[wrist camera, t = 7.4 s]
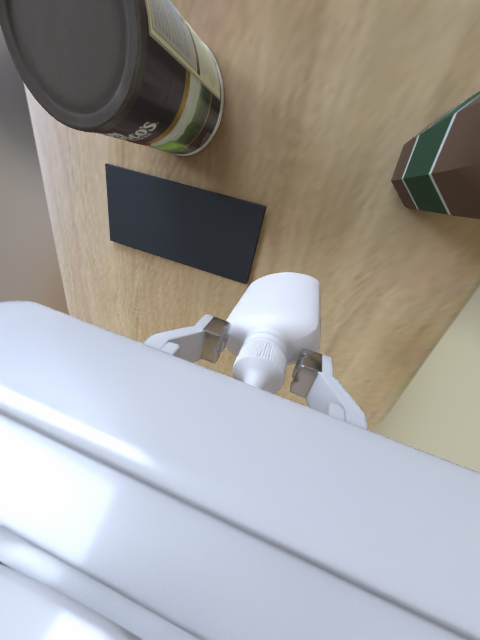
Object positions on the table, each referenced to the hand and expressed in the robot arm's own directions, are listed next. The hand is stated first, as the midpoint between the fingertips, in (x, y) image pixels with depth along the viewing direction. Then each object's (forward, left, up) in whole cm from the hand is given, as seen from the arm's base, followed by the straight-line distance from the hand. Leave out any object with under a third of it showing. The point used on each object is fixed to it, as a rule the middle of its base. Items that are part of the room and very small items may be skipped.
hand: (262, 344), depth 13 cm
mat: (0, -16, -20) cm, 26 cm away
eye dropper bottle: (0, 0, -8) cm, 8 cm away
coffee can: (-13, -17, -20) cm, 30 cm away
